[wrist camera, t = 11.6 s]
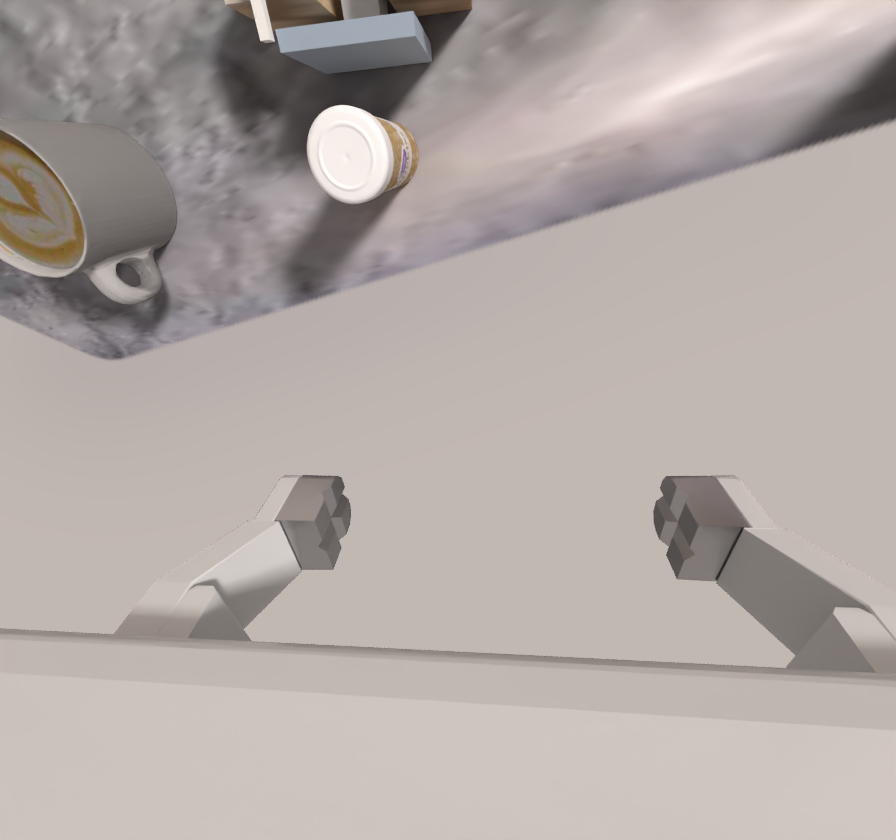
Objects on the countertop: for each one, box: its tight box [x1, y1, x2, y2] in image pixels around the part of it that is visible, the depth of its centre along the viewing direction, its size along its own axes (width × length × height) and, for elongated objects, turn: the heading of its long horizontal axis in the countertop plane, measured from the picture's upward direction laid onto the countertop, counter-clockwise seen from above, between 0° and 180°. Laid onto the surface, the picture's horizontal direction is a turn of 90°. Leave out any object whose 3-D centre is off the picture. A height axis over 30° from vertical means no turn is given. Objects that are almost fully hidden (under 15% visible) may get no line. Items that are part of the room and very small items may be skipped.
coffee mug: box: [0, 118, 177, 304], centre depth 33 cm, size 13×10×10 cm
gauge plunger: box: [250, 0, 432, 74], centre depth 25 cm, size 9×5×8 cm, turn 94°
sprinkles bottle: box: [307, 105, 419, 204], centre depth 27 cm, size 5×5×14 cm
